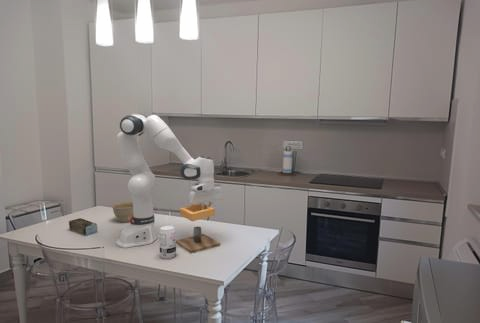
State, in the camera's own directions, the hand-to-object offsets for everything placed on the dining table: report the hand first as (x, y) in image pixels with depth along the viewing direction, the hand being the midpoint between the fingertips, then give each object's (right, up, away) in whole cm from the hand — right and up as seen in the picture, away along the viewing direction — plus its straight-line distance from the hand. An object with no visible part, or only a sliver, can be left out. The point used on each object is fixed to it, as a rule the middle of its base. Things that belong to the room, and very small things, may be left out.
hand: (206, 209), depth 191 cm
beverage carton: (-78, -17, +20) cm, 82 cm away
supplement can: (-18, -22, -17) cm, 33 cm away
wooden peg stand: (-5, -19, -1) cm, 20 cm away
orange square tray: (-5, -3, -3) cm, 6 cm away
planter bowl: (-59, -14, +42) cm, 74 cm away
